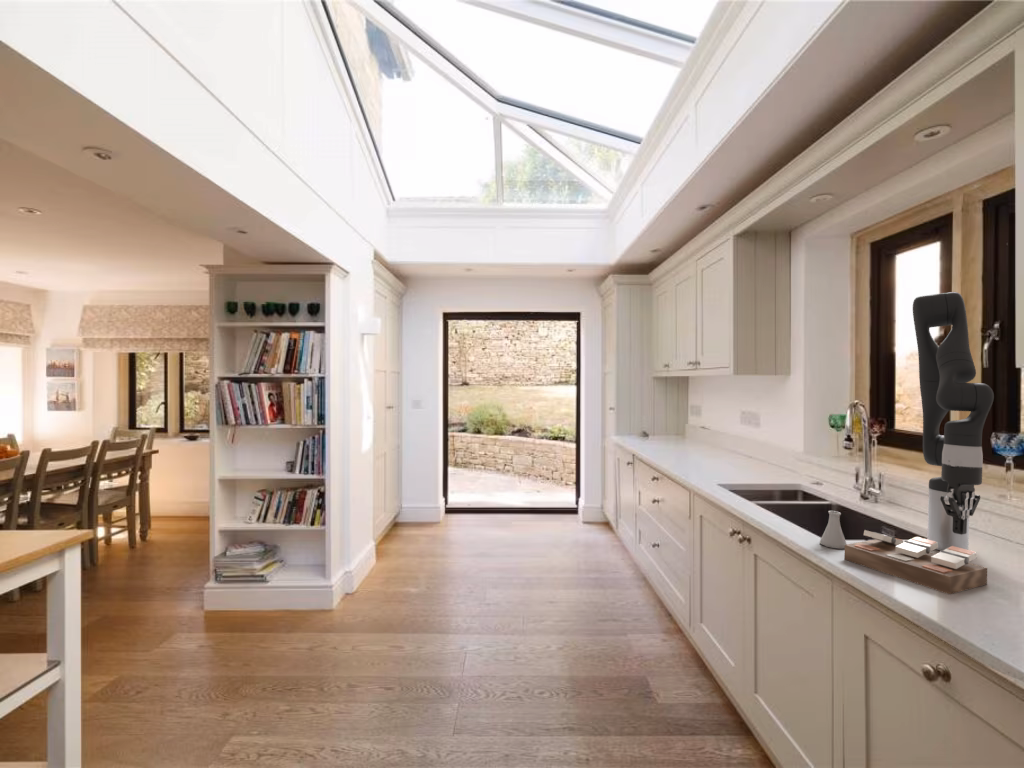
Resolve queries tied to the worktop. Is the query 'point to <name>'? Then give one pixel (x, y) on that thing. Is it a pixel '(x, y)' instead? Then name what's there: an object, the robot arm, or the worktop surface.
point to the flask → (833, 532)
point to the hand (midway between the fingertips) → (959, 533)
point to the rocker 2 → (916, 547)
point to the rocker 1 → (883, 537)
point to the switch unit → (915, 567)
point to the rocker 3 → (954, 557)
